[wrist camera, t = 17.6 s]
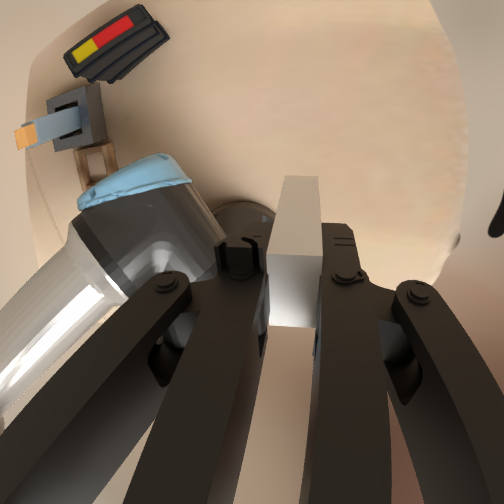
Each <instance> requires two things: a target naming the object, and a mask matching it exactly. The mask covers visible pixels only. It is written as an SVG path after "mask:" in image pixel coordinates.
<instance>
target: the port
mask: <svg viewBox="0 0 504 504" xmlns="http://www.w3.org/2000/svg"><path fill="white" fill-rule="evenodd" d="M77 101H78V107H79V114H80V120H81V126H82V132H80V133H77V134H74V132H73V131H72V132H70V133H67V134H65V135H62V136H60V137H57V138H55V139H53V144H54V149H55V152H57V151H62V150H66V149H70V148H74V147H79V146H84V145H88V144H93V143H96V142H98V141H100V140H103V139H105V138H107V133H106V127H105V121H104V114H103V107H102V100H101V92H100V83H98V84H92V85H86V86H83V87H80V88H77V89H74V90H72V91H69V92H66V93H64V94H61V95H59V96H56V97H54V98H51V99H49V100H47V101H46V104H47V111H48V115H49V114H52V113H55V112H59V111H62V110H65V109H69V104H71V103H74V102H77Z"/></svg>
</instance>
